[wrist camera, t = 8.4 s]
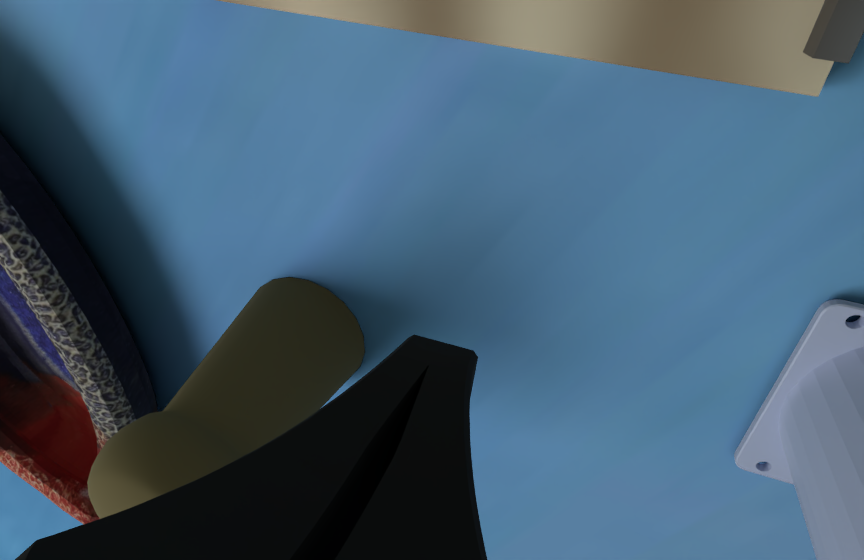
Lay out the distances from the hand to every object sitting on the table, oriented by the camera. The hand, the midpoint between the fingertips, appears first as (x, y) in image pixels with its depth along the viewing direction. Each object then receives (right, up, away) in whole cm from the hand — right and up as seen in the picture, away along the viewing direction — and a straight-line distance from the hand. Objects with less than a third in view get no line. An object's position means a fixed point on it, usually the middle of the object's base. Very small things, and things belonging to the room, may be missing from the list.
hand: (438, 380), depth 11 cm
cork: (-6, 0, +15) cm, 16 cm away
